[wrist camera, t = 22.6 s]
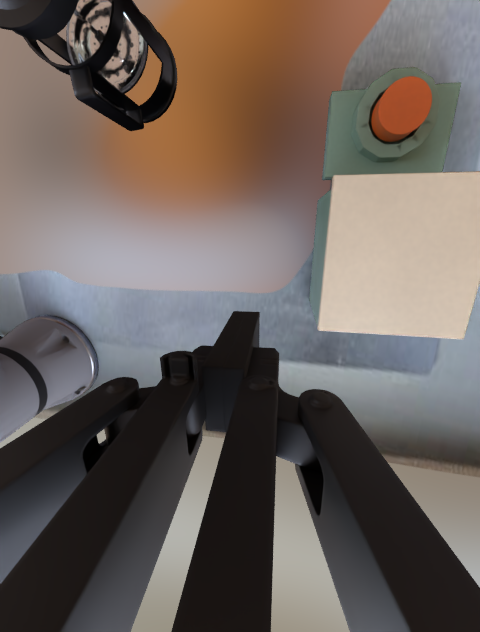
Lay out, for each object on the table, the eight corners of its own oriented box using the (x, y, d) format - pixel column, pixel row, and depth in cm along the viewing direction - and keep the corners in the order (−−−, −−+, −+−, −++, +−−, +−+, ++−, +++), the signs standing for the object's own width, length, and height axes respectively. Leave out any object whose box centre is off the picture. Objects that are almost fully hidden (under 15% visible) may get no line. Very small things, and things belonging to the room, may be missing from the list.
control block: (322, 180, 32) (326, 174, 28) (330, 92, 29) (336, 73, 26) (432, 177, 30) (452, 170, 27) (451, 84, 28) (477, 61, 24)
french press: (93, 28, 31) (-338, -412, 10) (169, 9, 29) (-150, -581, 8) (116, 144, 35) (-162, 10, 13) (185, 132, 33) (-6, -43, 11)
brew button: (367, 143, 27) (374, 135, 25) (374, 90, 26) (382, 77, 24) (414, 141, 27) (426, 133, 24) (424, 87, 25) (437, 73, 23)
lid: (332, 176, 23) (333, 174, 22) (503, 172, 21) (512, 170, 20) (317, 327, 27) (318, 330, 26) (458, 336, 25) (463, 339, 24)
